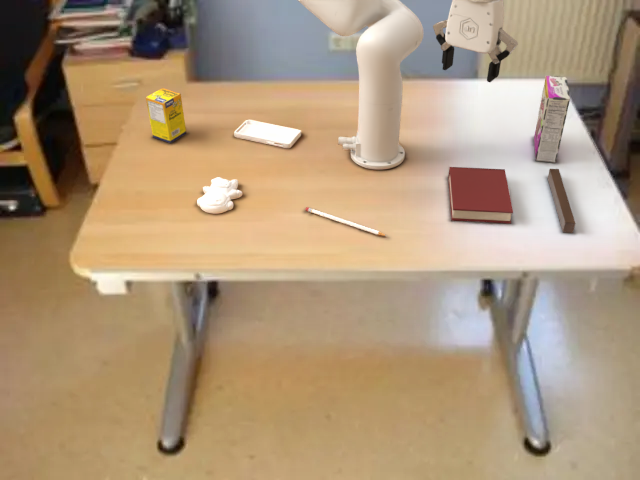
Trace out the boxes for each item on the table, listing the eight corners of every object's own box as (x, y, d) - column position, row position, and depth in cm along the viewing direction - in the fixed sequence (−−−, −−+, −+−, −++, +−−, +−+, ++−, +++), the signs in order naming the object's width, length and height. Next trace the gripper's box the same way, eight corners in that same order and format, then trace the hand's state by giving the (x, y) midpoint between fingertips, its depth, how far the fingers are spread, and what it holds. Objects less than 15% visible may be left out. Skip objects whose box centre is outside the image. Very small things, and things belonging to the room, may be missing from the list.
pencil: (307, 209, 148) (307, 206, 148) (387, 236, 141) (387, 233, 141) (305, 211, 148) (305, 208, 147) (385, 238, 140) (385, 235, 140)
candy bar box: (532, 137, 172) (545, 74, 161) (553, 139, 171) (567, 76, 161) (533, 161, 163) (547, 96, 153) (556, 163, 162) (571, 98, 152)
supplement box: (187, 133, 174) (181, 93, 167) (170, 144, 170) (164, 103, 163) (168, 127, 177) (162, 87, 170) (152, 137, 173) (145, 97, 166)
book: (451, 220, 145) (453, 208, 143) (448, 178, 158) (449, 166, 156) (510, 223, 144) (513, 211, 142) (502, 180, 157) (504, 169, 155)
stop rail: (562, 232, 142) (565, 222, 140) (547, 177, 158) (549, 168, 156) (572, 232, 142) (575, 222, 140) (556, 178, 157) (558, 168, 156)
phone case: (302, 134, 173) (247, 123, 178) (301, 129, 173) (247, 118, 177) (289, 149, 168) (233, 137, 173) (289, 144, 167) (233, 132, 172)
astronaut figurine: (249, 186, 156) (248, 174, 154) (226, 217, 147) (225, 205, 145) (213, 179, 158) (212, 168, 156) (188, 209, 149) (187, 197, 147)
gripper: (429, -16, 132) (421, 69, 143) (516, 2, 124) (501, 91, 135) (447, -27, 137) (439, 57, 148) (532, -10, 129) (517, 77, 140)
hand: (469, 73), depth 141 cm, fingers open, 9 cm apart
